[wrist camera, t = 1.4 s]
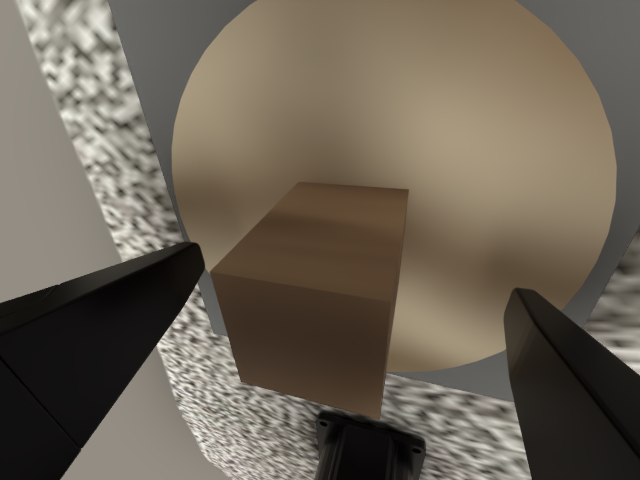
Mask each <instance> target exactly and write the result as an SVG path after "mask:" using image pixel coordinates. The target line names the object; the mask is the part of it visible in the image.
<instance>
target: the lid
mask: <svg viewBox="0 0 640 480" xmlns="http://www.w3.org/2000/svg"><path fill="white" fill-rule="evenodd" d="M616 175H617V165H616V158H615V151H614V145H613V138H612V131H611V128H610V125H609V123H608V120H607V117H606V114H605V111H604V108H603V105H602V103H601V100H600V97H599V94H598V93H597V91H596V89H595V87H594V86H593V84H592V82H591V81H590V79H589V77H588V75H587V74H586V72H585V70H584V69H583V67H582V65H581V63H580V62H579V60H578V59H577V58H576V57H575V55H574V54H573V53H572V52H571V51H570V50H569V49H568V47H567V46H566V45H565V44H564V43H563V42H562V40H561V39H560V38H559V37H558V36H557V35H556V34H555V32H554V31H553V30H552V29H551V28H550V27H549V26H547V25H546V24H545V23H544V22H542V21H541V20H540V19H538V18H537V17H536V16H535V15H533V14H532V13H531V12H530V11H528V10H527V9H526V8H525V7H523V6H522V5H521V4H519V3H518V2H517V1H515V0H257V1H255V2H254V3H252V4H250V5H249V6H248V7H247V8H246V9H245V10H243V11H242V12H241V13H240V14H239V15H238V16H236V17H235V18H234V19H233V20H232V21H231V22H230V23H228V24H227V25H226V26H225V27H224V28H223V30H222V31H221V32H220V33H219V34H218V36H217V37H216V38H215V39H214V40H213V42H212V43H211V44H210V45H209V46H208V48H207V49H206V50H205V52H204V53H203V55H202V57H201V58H200V60H199V62H198V64H197V65H196V67H195V69H194V70H193V72H192V74H191V76H190V78H189V80H188V83H187V85H186V88H185V90H184V93H183V95H182V97H181V100H180V104H179V108H178V112H177V116H176V120H175V124H174V132H173V141H172V176H173V184H174V191H175V196H176V200H177V204H178V208H179V212H180V216H181V219H182V221H183V224H184V227H185V229H186V232H187V235H188V237H189V239H190V241H191V242H195V243H198V244H199V245H200V247H201V251H202V254H203V258H204V261H205V268H206V270H207V271H208V272H209V274H210V275H211V278H212V282H213V285H214V289H215V292H216V296H217V299H218V303H219V306H220V310H221V313H222V317H223V320H224V324H225V327H226V331H227V334H228V338H229V341H230V345H231V348H232V352H233V355H234V359H235V362H236V366H237V369H238V373H239V376H240V380H241V382H243V383H247V384H250V385H254V386H258V387H261V388H265V389H269V390H273V391H276V392H280V393H284V394H287V395H291V396H295V397H298V398H302V399H306V400H309V401H313V402H317V403H320V404H324V405H328V406H331V407H335V408H339V409H343V410H346V411H350V412H354V413H357V414H361V415H365V416H368V417H372V418H376V419H379V420H380V413H381V406H382V398H383V391H384V384H385V377H386V372H424V371H435V370H441V369H447V368H453V367H458V366H461V365H465V364H469V363H472V362H476V361H479V360H482V359H484V358H487V357H489V356H492V355H494V354H497V353H500V352H502V351H504V350H505V349H506V343H505V332H504V322H503V317H504V312H505V309H506V306H507V303H508V300H509V298H510V295H511V292H512V290H513V289H514V288H516V287H519V288H526V289H533V290H535V291H536V292H538V293H539V294H540V295H541V296H543V297H544V298H545V299H546V300H547V301H549V302H550V303H551V304H552V305H554V306H555V307H556V308H557V309H559V310H560V311H561V310H562V309H563V308H564V307H565V306H566V304H567V303H568V302H569V301H570V300H571V298H572V297H573V296H574V295H575V294H576V293H577V291H578V290H579V289H580V288H581V287H582V285H583V283H584V282H585V280H586V278H587V277H588V275H589V273H590V272H591V270H592V269H593V267H594V265H595V264H596V262H597V260H598V257H599V255H600V253H601V250H602V248H603V245H604V243H605V240H606V238H607V235H608V233H609V229H610V224H611V219H612V215H613V210H614V206H615V201H616Z"/></svg>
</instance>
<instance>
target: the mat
mask: <svg viewBox="0 0 640 480" xmlns="http://www.w3.org/2000/svg"><path fill="white" fill-rule="evenodd" d="M255 1H257V0H108V3H109V6H110V9H111V12H112V15H113V18H114V22H115V25H116V28H117V31H118V34H119V37H120V40H121V43H122V47H123V50H124V53H125V56H126V59H127V62H128V65H129V69H130V72H131V75H132V78H133V81H134V84H135V87H136V91H137V94H138V97H139V100H140V103H141V106H142V109H143V113H144V116H145V119H146V122H147V125H148V128H149V131H150V135H151V138H152V141H153V144H154V147H155V150H156V153H157V156H158V160H159V163H160V166H161V169H162V172H163V175H164V178H165V182H166V185H167V188H168V191H169V194H170V197H171V200H172V204H173V207H174V210H175V213H176V216H177V219H178V222H179V226H180V229H181V232H182V235H183V238H184V241H188V242H191V241H190V239H189V237H188V235H187V232H186V229H185V227H184V224H183V221H182V219H181V216H180V212H179V208H178V204H177V200H176V196H175V191H174V184H173V176H172V141H173V132H174V124H175V120H176V116H177V112H178V108H179V104H180V100H181V97H182V95H183V93H184V90H185V88H186V85H187V83H188V80H189V78H190V76H191V74H192V72H193V70H194V69H195V67H196V65H197V64H198V62H199V60H200V58H201V57H202V55H203V53H204V52H205V50H206V49H207V48H208V46H209V45H210V44H211V43H212V42H213V40H214V39H215V38H216V37H217V36H218V34H219V33H220V32H221V31H222V30H223V28H224V27H225V26H226V25H227V24H228V23H230V22H231V21H232V20H233V19H234V18H235V17H236V16H238V15H239V14H240V13H241V12H242V11H243V10H245V9H246V8H247V7H248V6H249V5H250V4H252V3H254V2H255ZM515 1H517V2H518V3H519V4H521V5H522V6H523V7H525V8H526V9H527V10H528V11H530V12H531V13H532V14H533V15H535V16H536V17H537V18H538V19H540V20H541V21H542V22H544V23H545V24H546V25H547V26H549V27H550V28H551V29H552V30H553V31H554V32H555V34H556V35H557V36H558V37H559V38H560V39H561V40H562V42H563V43H564V44H565V45H566V46H567V47H568V49H569V50H570V51H571V52H572V53H573V54H574V55H575V57H576V58H577V59H578V60H579V62H580V63H581V65H582V67H583V69H584V70H585V72H586V74H587V75H588V77H589V79H590V81H591V82H592V84H593V86H594V87H595V89H596V91H597V93H598V94H599V97H600V100H601V103H602V105H603V108H604V111H605V114H606V117H607V120H608V123H609V125H610V128H611V131H612V138H613V145H614V151H615V158H616V165H617V175H616V201H615V206H614V210H613V215H612V219H611V224H610V229H609V233H608V235H607V238H606V240H605V243H604V245H603V248H602V250H601V253H600V255H599V257H598V260H597V262H596V264H595V265H594V267H593V269H592V270H591V272H590V273H589V275H588V277H587V278H586V280H585V282H584V283H583V285H582V287H581V288H580V289H579V290H578V291H577V293H576V294H575V295H574V296H573V297H572V298H571V300H570V301H569V302H568V303H567V304H566V306H565V307H564V308H563V309H562V310H561V312H562V313H563V314H565V315H566V316H567V317H568V318H570V319H571V320H572V321H573V322H575V323H576V324H577V325H578V326H579V327H581V328H583V326H584V324H585V323H586V321H587V319H588V317H589V315H590V314H591V312H592V310H593V308H594V307H595V305H596V303H597V301H598V299H599V298H600V296H601V294H602V292H603V291H604V289H605V287H606V285H607V283H608V282H609V280H610V278H611V276H612V275H613V273H614V271H615V269H616V267H617V266H618V264H619V262H620V260H621V259H622V257H623V255H624V253H625V251H626V250H627V248H628V246H629V244H630V243H631V241H632V239H633V237H634V235H635V234H636V232H637V230H638V228H639V227H640V0H515ZM198 285H199V288H200V291H201V295H202V298H203V301H204V304H205V307H206V310H207V313H208V317H209V320H210V323H211V326H212V329H213V332H214V334H219V335H223V336H227V337H228V334H227V331H226V327H225V324H224V320H223V317H222V313H221V310H220V306H219V303H218V299H217V296H216V292H215V289H214V285H213V282H212V278H211V275H210V274H209V272H208V271H207V270H206V268H205V270H204V272H203V274H202V276H201V277H200V279H199V281H198ZM386 373H389V374H393V375H397V376H402V377H406V378H410V379H415V380H419V381H424V382H428V383H432V384H437V385H441V386H445V387H450V388H454V389H458V390H463V391H467V392H471V393H476V394H480V395H484V396H489V397H493V398H498V399H502V400H506V401H511V402H514V398H513V394H512V390H511V385H510V380H509V373H508V363H507V353H506V349H505V350H504V351H502V352H500V353H497V354H494V355H492V356H489V357H487V358H484V359H482V360H479V361H476V362H472V363H469V364H465V365H461V366H458V367H453V368H447V369H441V370H435V371H424V372H386Z"/></svg>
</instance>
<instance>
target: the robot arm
mask: <svg viewBox="0 0 640 480" xmlns="http://www.w3.org/2000/svg"><path fill="white" fill-rule="evenodd" d="M204 270H205V261H204V258H203V254H202V251H201V247H200V245H199V244H198V243H195V242H188V241H185V242H182V243H179V244H176V245H173V246H170V247H167V248H164V249H161V250H158V251H155V252H152V253H149V254H146V255H143V256H140V257H137V258H134V259H131V260H129V261H126V262H123V263H120V264H117V265H114V266H111V267H108V268H105V269H102V270H99V271H96V272H93V273H90V274H87V275H84V276H81V277H78V278H75V279H72V280H69V281H67V282H64V283H61V284H60V285H55V286H51V287H48V288H45V289H42V290H39V291H37V292H33V293H30V294H27V295H24V296H22V297H18V298H15V299H12V300H8V301H5V302H2V303H0V480H60V479H61V478H62V477H63V475H64V474H65V472H66V471H67V470H68V468H69V467H70V465H71V464H72V463H73V461H74V460H75V458H76V457H77V455H78V454H79V453H80V451H81V448H83V447H84V445H85V444H86V443H87V441H88V440H89V438H90V437H91V435H92V434H93V433H94V431H95V430H96V429H97V427H98V426H99V424H100V423H101V421H102V420H103V419H104V417H105V416H106V414H107V413H108V412H109V410H110V409H111V408H112V406H113V405H114V403H115V402H116V401H117V399H118V398H119V396H120V395H121V394H122V392H123V391H124V390H125V388H126V387H127V385H128V384H129V383H130V381H131V380H132V378H133V377H134V376H135V374H136V373H137V371H138V370H139V369H140V367H141V366H142V364H143V363H144V362H145V360H146V359H147V357H148V356H149V355H150V353H151V352H152V350H153V349H154V347H155V346H156V345H157V343H158V342H159V341H160V339H161V338H162V336H163V335H164V334H165V332H166V331H167V329H168V328H169V327H170V325H171V324H172V323H173V321H174V320H175V318H176V317H177V316H178V314H179V313H180V311H181V310H182V308H183V306H184V305H185V303H186V301H187V300H188V298H189V296H190V295H191V293H192V291H193V289H194V288H195V286H196V284H197V282H198V281H199V279H200V277H201V276H202V274H203V272H204ZM503 322H504V332H505V343H506V353H507V363H508V373H509V380H510V385H511V390H512V394H513V398H514V403H515V407H516V412H517V416H518V420H519V425H520V429H521V433H522V438H523V442H524V446H525V451H526V455H527V460H528V464H529V468H530V473H531V477H532V480H640V375H639V374H637V373H636V372H635V371H634V370H632V369H631V368H630V367H629V366H627V365H626V364H625V363H624V362H623V361H621V360H620V359H619V358H618V357H616V356H615V355H614V354H613V353H611V352H610V351H609V350H608V349H607V348H605V347H604V346H603V345H602V344H600V343H599V342H598V341H597V340H595V339H594V338H593V337H592V336H591V335H589V334H588V333H587V332H586V331H584V330H583V329H582V328H581V327H579V326H578V325H577V324H576V323H575V322H573V321H572V320H571V319H570V318H568V317H567V316H566V315H565V314H563V313H562V312H561V311H560V310H559V309H557V308H556V307H555V306H554V305H552V304H551V303H550V302H549V301H547V300H546V299H545V298H544V297H543V296H541V295H540V294H539V293H538V292H536V291H535V290H533V289H526V288H519V287H516V288H514V289H513V290H512V292H511V295H510V298H509V300H508V303H507V306H506V309H505V312H504V317H503ZM316 427H317V438H318V448H319V459H320V460H319V464H318V467H317V471H316V475H315V479H314V480H419V477H420V473H421V469H422V466H423V462H424V458H425V455H426V444H425V443H424V442H423V441H421V440H419V439H416V438H412V437H409V436H405V435H401V434H398V433H394V432H391V431H387V430H384V429H380V428H376V427H373V426H369V425H366V424H362V423H358V422H355V421H351V420H348V419H344V418H341V417H337V416H333V415H330V414H326V413H319V414H318V417H317V420H316Z"/></svg>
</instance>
